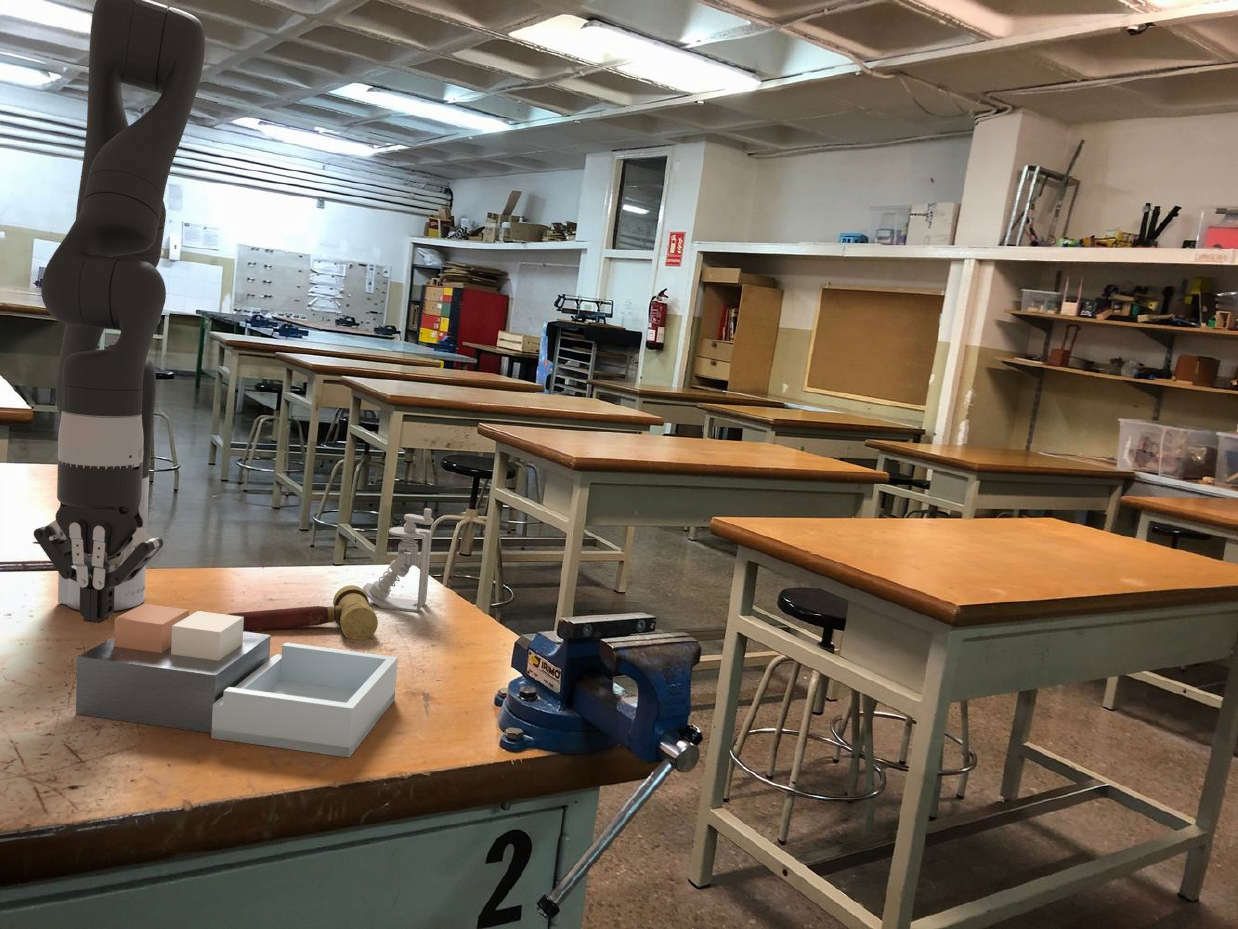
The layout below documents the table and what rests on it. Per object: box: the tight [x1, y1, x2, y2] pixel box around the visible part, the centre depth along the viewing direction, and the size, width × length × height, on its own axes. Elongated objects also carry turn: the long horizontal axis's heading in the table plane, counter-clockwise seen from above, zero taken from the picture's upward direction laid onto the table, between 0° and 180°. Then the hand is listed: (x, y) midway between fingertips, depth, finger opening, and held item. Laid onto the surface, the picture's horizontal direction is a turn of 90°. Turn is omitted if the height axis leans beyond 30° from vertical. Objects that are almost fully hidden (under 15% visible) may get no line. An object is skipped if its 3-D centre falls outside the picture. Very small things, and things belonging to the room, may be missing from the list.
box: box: [210, 642, 399, 758], centre depth 95 cm, size 14×14×5 cm
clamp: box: [362, 507, 434, 613], centre depth 133 cm, size 4×10×15 cm, turn 88°
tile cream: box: [171, 610, 244, 661], centre depth 95 cm, size 5×5×3 cm
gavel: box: [225, 584, 379, 640], centre depth 120 cm, size 21×5×10 cm
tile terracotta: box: [113, 603, 190, 653], centre depth 95 cm, size 5×5×3 cm
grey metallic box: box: [75, 631, 272, 734], centre depth 96 cm, size 14×12×6 cm
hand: (96, 620), depth 95 cm, fingers closed
